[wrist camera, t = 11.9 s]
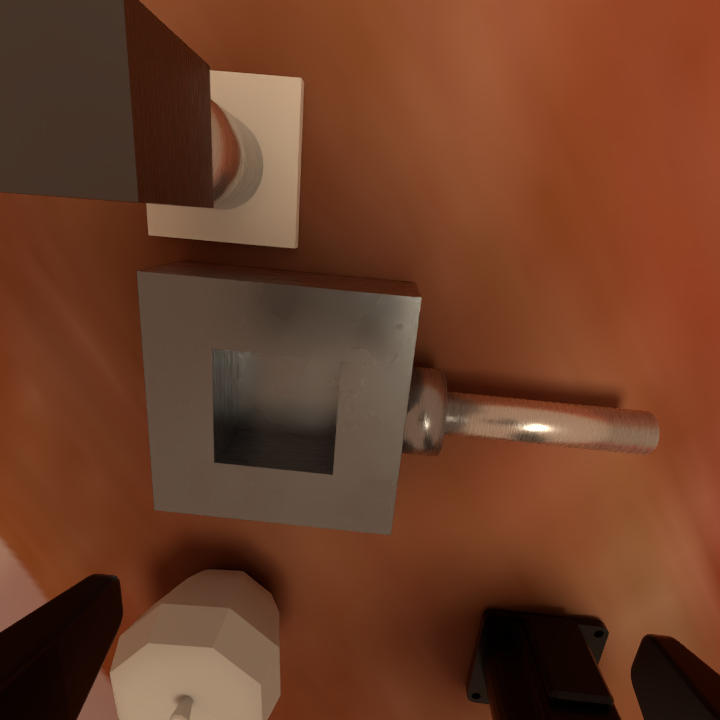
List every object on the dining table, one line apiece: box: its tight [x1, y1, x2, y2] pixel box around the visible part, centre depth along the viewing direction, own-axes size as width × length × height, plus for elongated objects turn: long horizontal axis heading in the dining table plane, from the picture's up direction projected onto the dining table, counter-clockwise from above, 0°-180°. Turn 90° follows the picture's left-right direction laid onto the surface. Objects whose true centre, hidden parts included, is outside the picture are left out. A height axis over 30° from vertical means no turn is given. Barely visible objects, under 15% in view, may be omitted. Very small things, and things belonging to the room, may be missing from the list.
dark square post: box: [0, 0, 263, 209], centre depth 12 cm, size 3×3×10 cm
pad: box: [146, 70, 304, 249], centre depth 17 cm, size 6×6×1 cm
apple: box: [110, 569, 280, 720], centre depth 21 cm, size 8×8×7 cm
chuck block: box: [137, 261, 659, 535], centre depth 19 cm, size 10×20×4 cm, turn 85°
